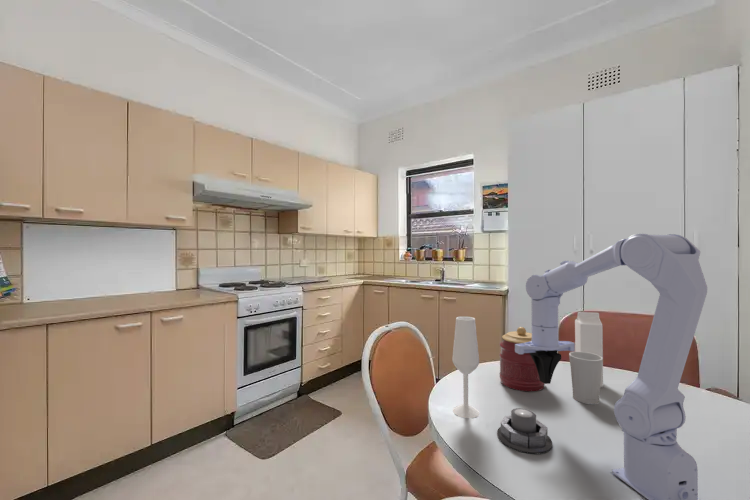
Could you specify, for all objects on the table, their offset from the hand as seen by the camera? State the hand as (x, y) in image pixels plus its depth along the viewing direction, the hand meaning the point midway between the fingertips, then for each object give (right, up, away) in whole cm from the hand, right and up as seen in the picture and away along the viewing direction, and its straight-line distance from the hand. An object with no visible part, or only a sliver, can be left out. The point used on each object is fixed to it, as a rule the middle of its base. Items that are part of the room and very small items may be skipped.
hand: (545, 382), depth 80 cm
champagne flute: (-17, -10, +6) cm, 21 cm away
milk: (+26, -10, +25) cm, 37 cm away
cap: (-8, -9, -6) cm, 14 cm away
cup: (+18, -10, +13) cm, 25 cm away
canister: (+5, -10, +24) cm, 27 cm away
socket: (-8, -10, -6) cm, 14 cm away
